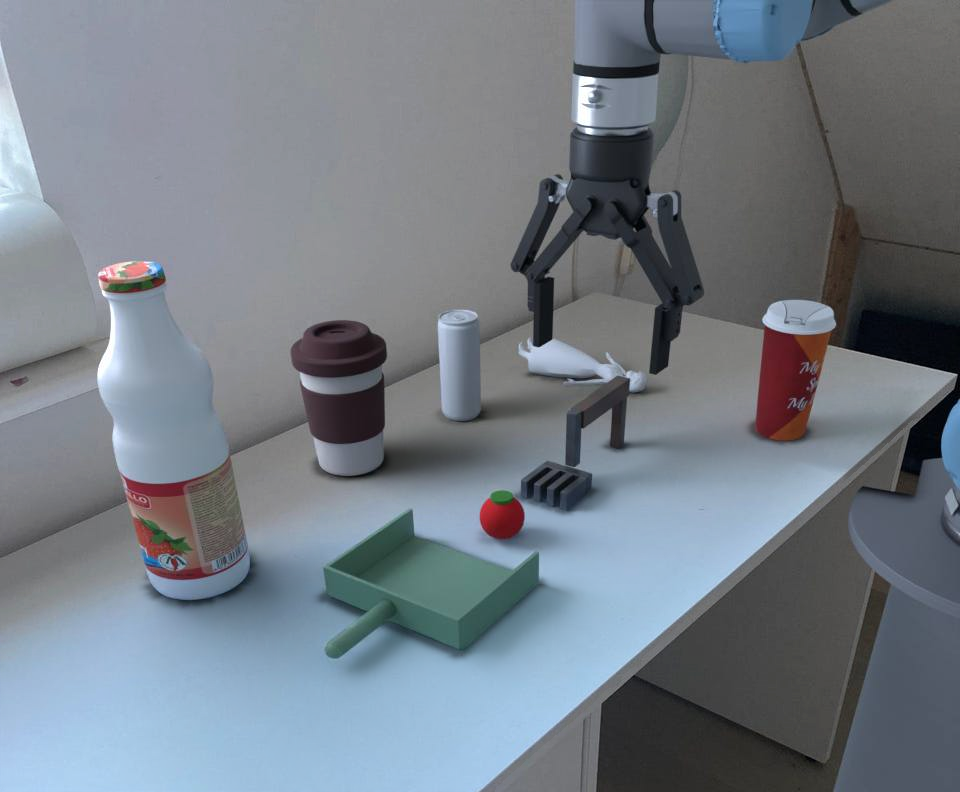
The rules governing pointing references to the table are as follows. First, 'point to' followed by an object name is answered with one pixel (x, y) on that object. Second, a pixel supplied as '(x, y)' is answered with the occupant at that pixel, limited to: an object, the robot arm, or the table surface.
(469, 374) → the beverage can
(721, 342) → the table surface
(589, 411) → the fork
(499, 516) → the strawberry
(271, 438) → the table surface
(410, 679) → the table surface
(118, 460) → the fruit juice
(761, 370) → the paper cup
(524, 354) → the woman figurine
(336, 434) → the coffee cup
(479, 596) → the green dustpan
